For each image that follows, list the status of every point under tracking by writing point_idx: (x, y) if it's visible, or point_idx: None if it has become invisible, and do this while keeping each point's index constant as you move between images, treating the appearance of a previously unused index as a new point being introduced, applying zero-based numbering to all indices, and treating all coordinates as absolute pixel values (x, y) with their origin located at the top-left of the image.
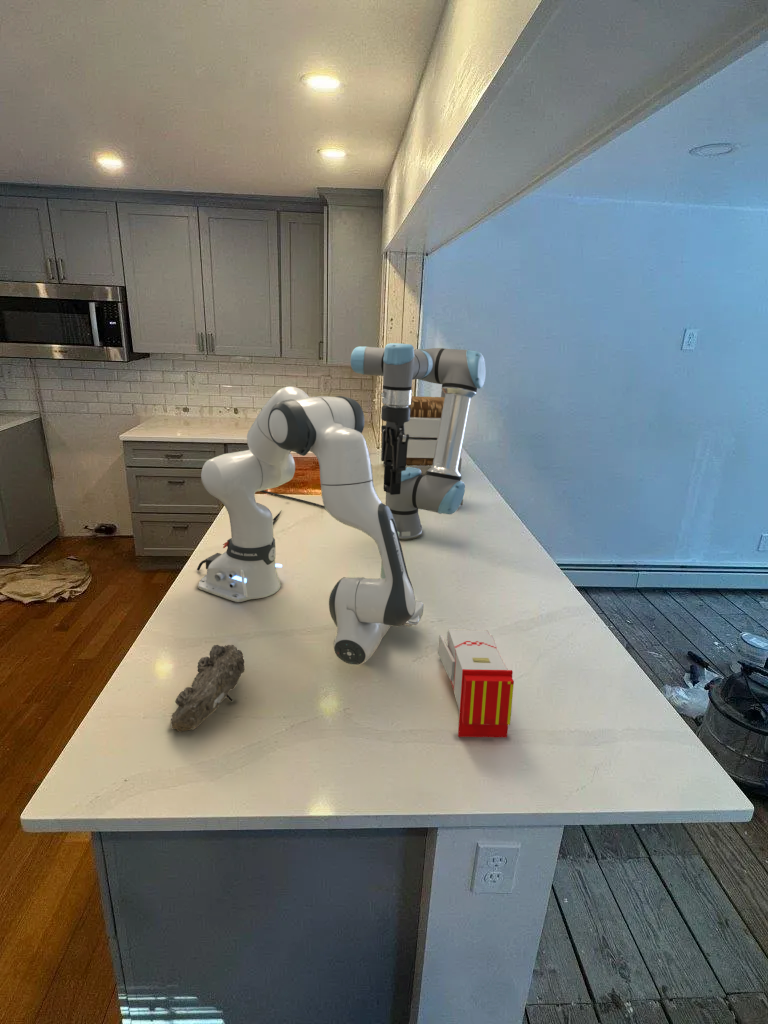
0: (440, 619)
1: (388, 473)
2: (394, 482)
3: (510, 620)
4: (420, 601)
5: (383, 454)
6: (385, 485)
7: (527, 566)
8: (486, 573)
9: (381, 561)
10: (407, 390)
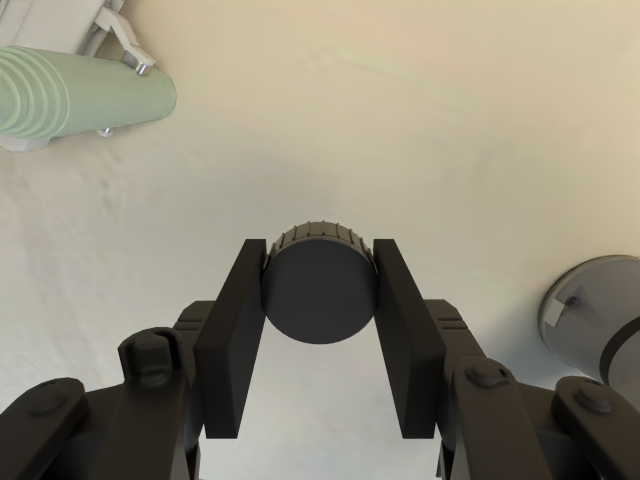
0: (112, 206)
1: (394, 332)
2: (211, 302)
3: (94, 335)
4: (16, 147)
5: (619, 476)
6: (312, 241)
7: (304, 468)
8: (297, 388)
9: (50, 51)
10: None
